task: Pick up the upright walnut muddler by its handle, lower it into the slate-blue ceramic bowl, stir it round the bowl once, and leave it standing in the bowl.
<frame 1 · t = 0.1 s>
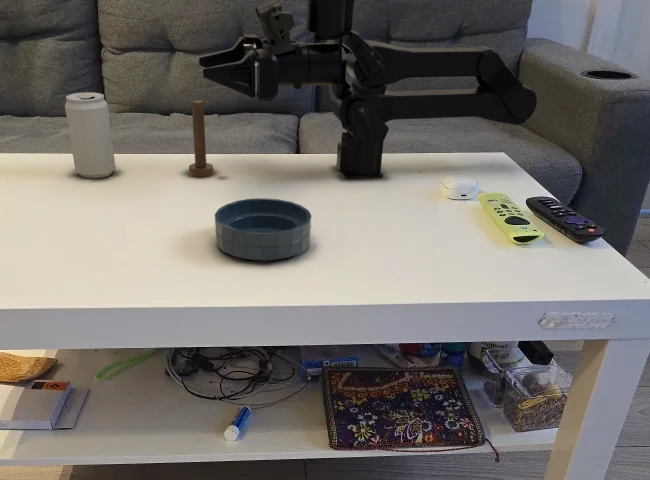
hand: (201, 67, 98), 17 cm above the table, tool horizontal, fingers open, 9 cm apart
muddler: (201, 173, 109), on the table
beverage can: (96, 174, 109), on the table
bowl: (263, 244, 86), on the table
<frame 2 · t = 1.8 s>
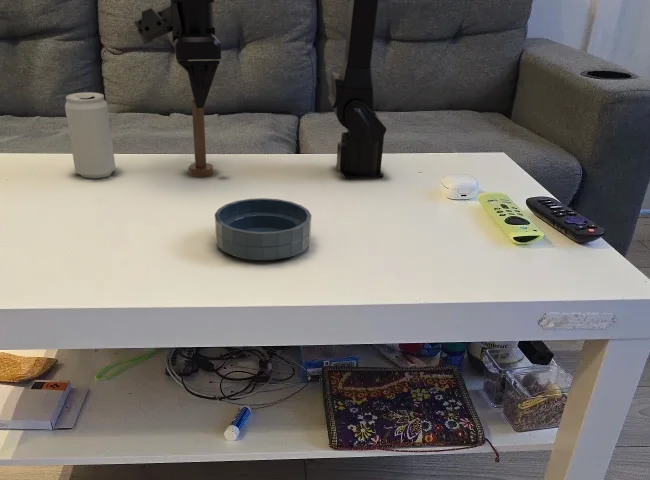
hand: (197, 101, 103), 11 cm above the table, tool pointing down, fingers open, 9 cm apart
nothing on the table moved.
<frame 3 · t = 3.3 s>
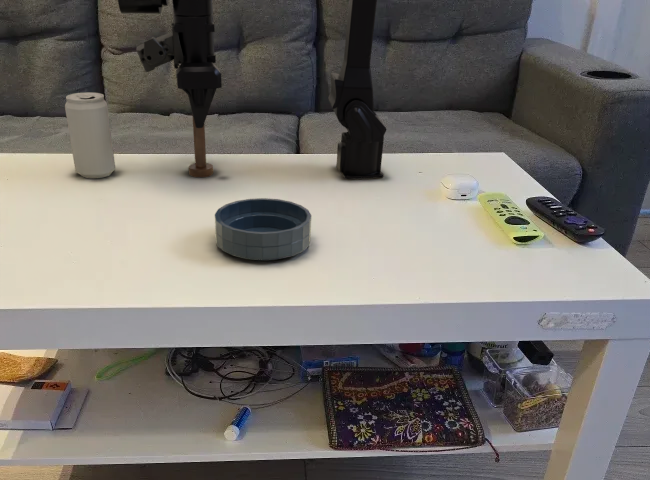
hand: (198, 126, 105), 8 cm above the table, tool pointing down, fingers closed on muddler, 2 cm apart
muddler: (201, 173, 109), on the table, touching gripper
everything else where it was.
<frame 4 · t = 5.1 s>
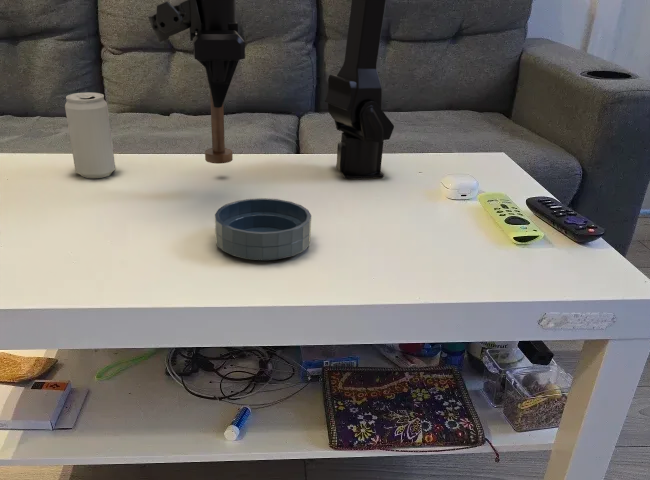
hand: (217, 105, 93), 13 cm above the table, tool pointing down, fingers closed on muddler
muddler: (218, 159, 97), point 5 cm above the table, touching gripper
everything else where it was.
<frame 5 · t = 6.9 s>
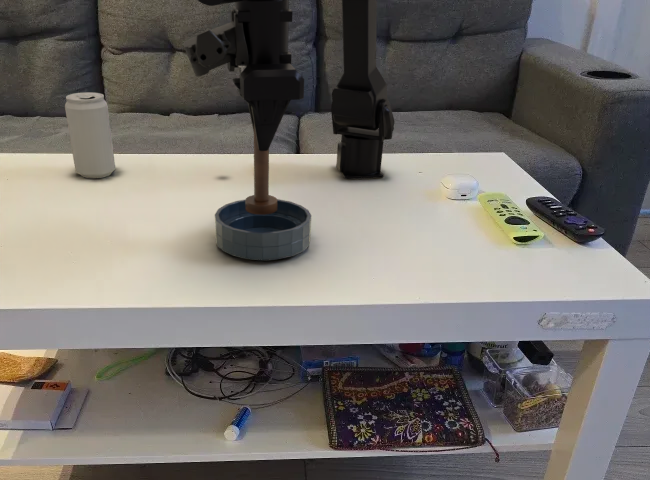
hand: (262, 148, 79), 12 cm above the table, tool pointing down, fingers closed on muddler
muddler: (261, 209, 83), point 5 cm above the table, touching gripper
everything else where it was.
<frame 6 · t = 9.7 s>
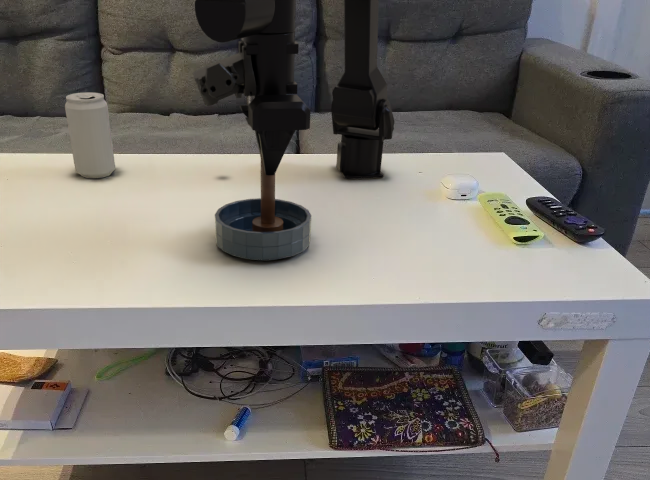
hand: (268, 172, 82), 9 cm above the table, tool pointing down, fingers closed on muddler, 2 cm apart
muddler: (267, 230, 86), point 1 cm above the table, touching gripper
everything else where it was.
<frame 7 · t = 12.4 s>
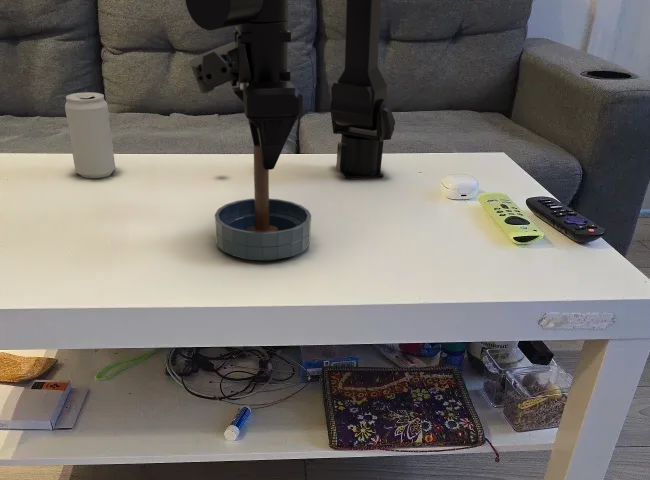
hand: (263, 157, 85), 10 cm above the table, tool pointing down, fingers open, 9 cm apart
muddler: (262, 237, 85), point 1 cm above the table, tilted 9°, touching bowl, gripper
everything else where it was.
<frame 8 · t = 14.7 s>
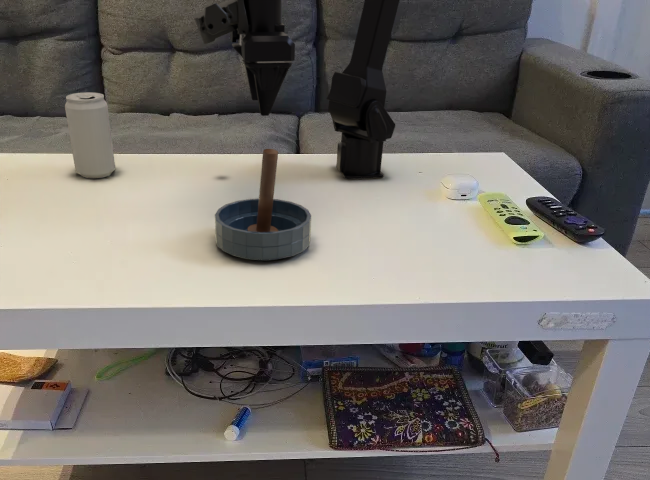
hand: (260, 107, 93), 13 cm above the table, tool pointing down, fingers open, 9 cm apart
muddler: (262, 238, 85), point 1 cm above the table, tilted 5°, touching bowl
everything else where it was.
at the end: muddler 0.1 cm off-centre in the bowl, point 0.8 cm above the bowl's base; muddler tilted 5°; the gripper is holding nothing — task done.
